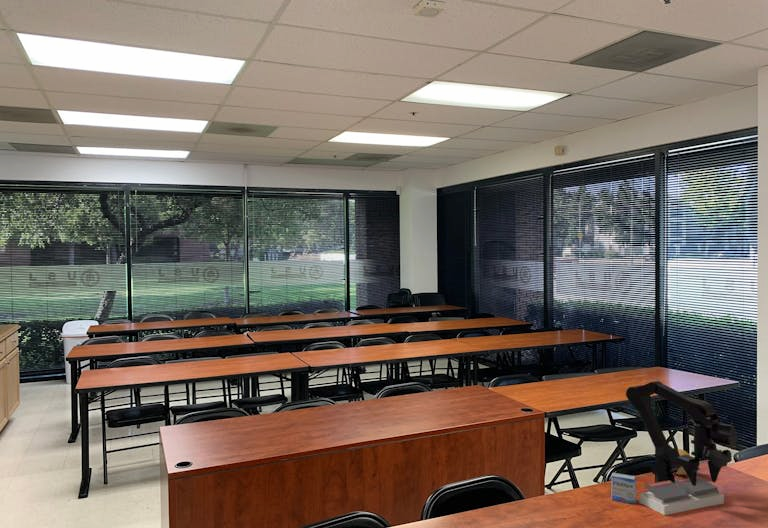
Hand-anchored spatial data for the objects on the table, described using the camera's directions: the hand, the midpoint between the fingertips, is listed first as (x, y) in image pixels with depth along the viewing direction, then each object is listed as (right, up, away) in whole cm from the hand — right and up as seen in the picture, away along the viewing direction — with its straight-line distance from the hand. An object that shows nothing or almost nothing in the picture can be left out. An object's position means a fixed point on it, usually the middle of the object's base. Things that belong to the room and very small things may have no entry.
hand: (704, 483), depth 194 cm
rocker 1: (-14, -2, -1) cm, 14 cm away
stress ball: (+6, -8, +28) cm, 30 cm away
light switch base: (-7, -7, +1) cm, 10 cm away
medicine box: (-27, -8, +4) cm, 28 cm away
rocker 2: (-1, -2, +3) cm, 4 cm away
